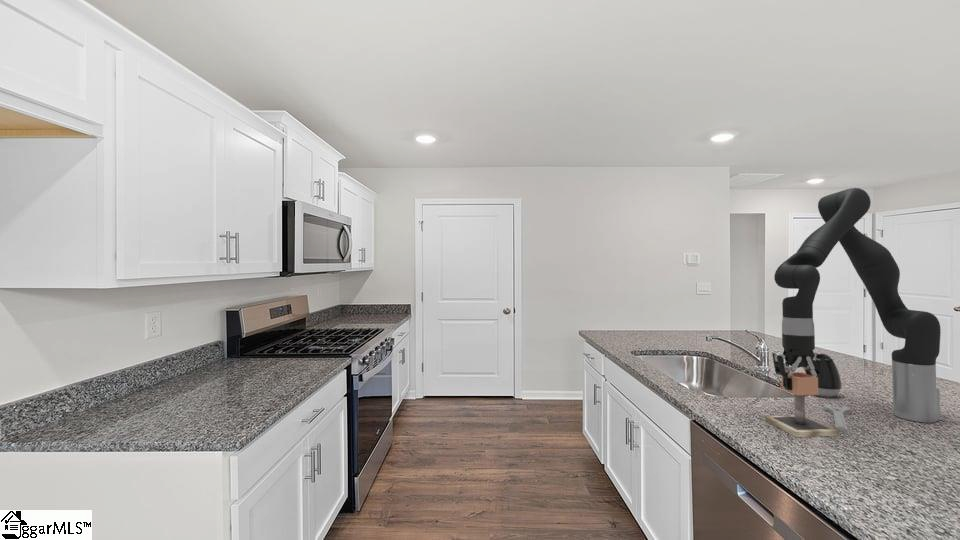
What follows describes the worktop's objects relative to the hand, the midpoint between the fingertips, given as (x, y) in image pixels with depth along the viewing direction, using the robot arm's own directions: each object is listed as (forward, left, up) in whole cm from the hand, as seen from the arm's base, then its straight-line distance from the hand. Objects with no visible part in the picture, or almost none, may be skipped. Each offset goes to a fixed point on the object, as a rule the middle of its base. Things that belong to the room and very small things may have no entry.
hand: (799, 389), depth 117 cm
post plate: (0, 0, -12) cm, 12 cm away
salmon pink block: (0, 0, -1) cm, 1 cm away
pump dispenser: (-32, -28, -12) cm, 44 cm away
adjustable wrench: (-16, -6, -12) cm, 21 cm away
